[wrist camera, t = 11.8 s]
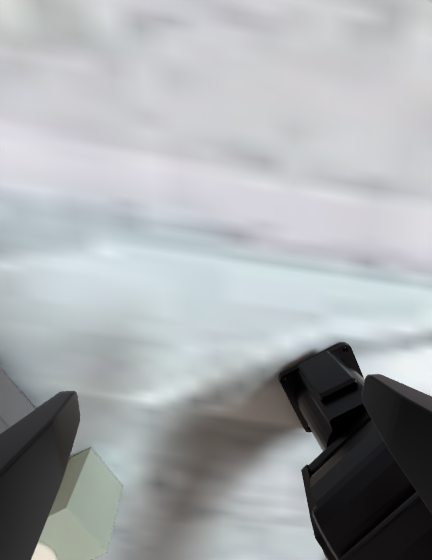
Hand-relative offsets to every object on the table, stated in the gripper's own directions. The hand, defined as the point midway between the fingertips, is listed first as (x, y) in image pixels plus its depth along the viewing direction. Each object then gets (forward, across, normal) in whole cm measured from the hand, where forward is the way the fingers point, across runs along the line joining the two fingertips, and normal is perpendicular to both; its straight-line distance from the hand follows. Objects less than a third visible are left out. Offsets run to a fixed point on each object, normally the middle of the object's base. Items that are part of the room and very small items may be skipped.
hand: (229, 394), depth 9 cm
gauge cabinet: (+13, +12, +19) cm, 26 cm away
